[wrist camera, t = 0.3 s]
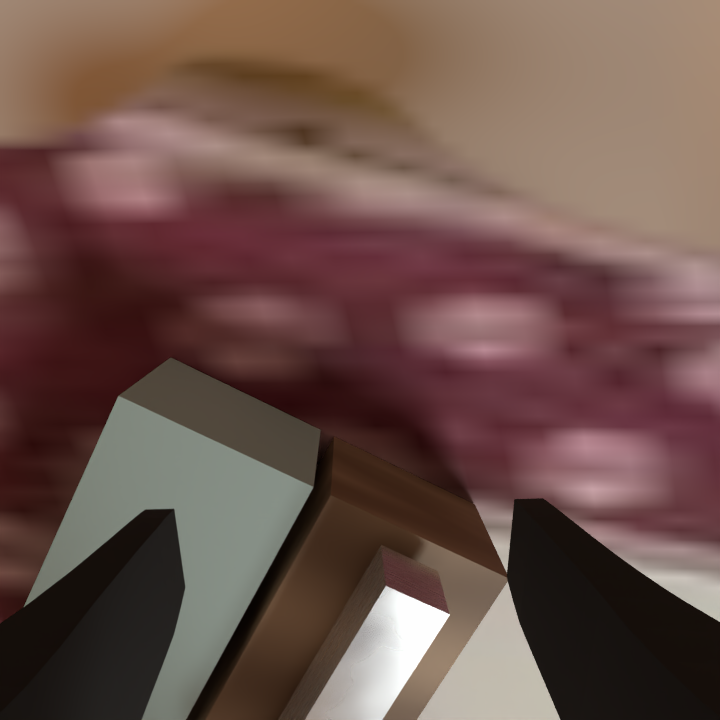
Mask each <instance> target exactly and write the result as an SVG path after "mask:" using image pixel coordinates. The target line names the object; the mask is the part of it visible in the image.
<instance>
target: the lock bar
mask: <svg viewBox="0 0 720 720" xmlns="http://www.w3.org/2000/svg"><path fill="white" fill-rule="evenodd" d="M449 615H450V614H449V610H448V607H447V603H446V599H445V596H444V592H443V588H442V584H441V581H440V577H439V573H438V571H437V570H434V569H432V568H430V567H428V566H426V565H424V564H421V563H419V562H417V561H415V560H413V559H411V558H408V557H406V556H404V555H402V554H400V553H398V552H395V551H393V550H391V549H389V548H387V547H385V546H382V545H381V546H380V548H379V550H378V551H377V553H376V555H375V556H374V558H373V560H372V561H371V563H370V565H369V567H368V568H367V570H366V572H365V573H364V575H363V577H362V578H361V580H360V582H359V583H358V585H357V587H356V589H355V590H354V592H353V594H352V595H351V597H350V599H349V600H348V602H347V604H346V605H345V607H344V609H343V611H342V612H341V614H340V616H339V617H338V619H337V621H336V622H335V624H334V626H333V627H332V629H331V631H330V632H329V634H328V636H327V638H326V639H325V641H324V643H323V644H322V646H321V648H320V649H319V651H318V653H317V654H316V656H315V658H314V660H313V661H312V663H311V665H310V666H309V668H308V670H307V671H306V673H305V675H304V676H303V678H302V680H301V681H300V683H299V685H298V687H297V688H296V690H295V692H294V693H293V695H292V697H291V698H290V700H289V702H288V703H287V705H286V707H285V709H284V710H283V712H282V714H281V715H280V717H279V719H278V720H382V719H383V718H384V716H385V715H386V713H387V712H388V710H389V709H390V707H391V705H392V704H393V702H394V701H395V699H396V698H397V696H398V695H399V693H400V691H401V690H402V688H403V687H404V685H405V684H406V682H407V680H408V679H409V677H410V676H411V674H412V673H413V671H414V670H415V668H416V666H417V665H418V663H419V662H420V660H421V659H422V657H423V655H424V654H425V652H426V651H427V649H428V648H429V646H430V645H431V643H432V641H433V640H434V638H435V637H436V635H437V634H438V632H439V631H440V629H441V627H442V626H443V624H444V623H445V621H446V620H447V618H448V616H449Z"/></svg>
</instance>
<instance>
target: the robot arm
mask: <svg viewBox="0 0 720 720" xmlns="http://www.w3.org/2000/svg"><path fill="white" fill-rule="evenodd" d="M507 580H508V584H509V587H510V591H511V595H512V598H513V602H514V605H515V609H516V612H517V615H518V619H519V622H520V625H521V627H522V630H523V632H524V635H525V637H526V639H527V642H528V644H529V647H530V649H531V651H532V654H533V656H534V659H535V661H536V663H537V666H538V668H539V670H540V673H541V675H542V677H543V680H544V682H545V684H546V687H547V689H548V691H549V694H550V696H551V698H552V701H553V703H554V705H555V708H556V710H557V713H558V715H559V717H560V720H720V622H719V621H717V620H715V619H714V618H712V617H710V616H709V615H707V614H705V613H703V612H702V611H700V610H698V609H697V608H695V607H693V606H692V605H690V604H688V603H686V602H685V601H683V600H682V599H680V598H678V597H677V596H675V595H674V594H672V593H670V592H669V591H667V590H666V589H664V588H663V587H661V586H660V585H658V584H657V583H655V582H654V581H652V580H651V579H650V578H648V577H647V576H645V575H644V574H642V573H641V572H639V571H638V570H636V569H635V568H634V567H632V566H631V565H629V564H628V563H627V562H625V561H624V560H622V559H621V558H620V557H618V556H617V555H616V554H614V553H613V552H612V551H610V550H609V549H608V548H606V547H605V546H604V545H602V544H601V543H600V542H598V541H597V540H596V539H595V538H593V537H592V536H591V535H589V534H588V533H587V532H586V531H584V530H583V529H582V528H581V527H579V526H578V525H577V524H576V523H574V522H573V521H572V520H570V519H569V518H568V517H567V516H565V515H564V514H563V513H562V512H560V511H559V510H558V509H556V508H555V507H554V506H553V505H551V504H550V503H549V502H547V501H546V500H544V499H515V500H514V510H513V520H512V530H511V540H510V550H509V560H508V570H507ZM184 592H185V580H184V573H183V566H182V559H181V552H180V545H179V538H178V531H177V524H176V517H175V510H174V509H145V510H144V511H142V512H141V513H140V514H139V515H137V516H136V517H135V518H134V519H132V520H131V521H130V522H129V523H128V524H126V525H125V526H124V527H123V528H122V529H121V530H119V531H118V532H117V533H116V534H115V535H114V536H112V537H111V538H110V539H109V540H108V541H107V542H105V543H104V544H103V545H102V546H101V547H99V548H98V549H97V550H96V551H95V552H93V553H92V554H91V555H90V556H89V557H87V558H86V559H85V560H84V561H83V562H81V563H80V564H79V565H78V566H77V567H75V568H74V569H73V570H72V571H70V572H69V573H68V574H67V575H65V576H64V577H63V578H61V579H60V580H59V581H57V582H56V583H55V584H53V585H52V586H51V587H50V588H48V589H47V590H46V591H44V592H43V593H42V594H40V595H39V596H38V597H36V598H35V599H34V600H33V601H31V602H30V603H29V604H27V605H26V606H25V607H23V608H22V609H20V610H19V611H18V612H16V613H15V614H13V615H12V616H10V617H9V618H8V619H6V620H5V621H3V622H2V623H0V720H142V718H143V715H144V712H145V710H146V707H147V705H148V702H149V699H150V697H151V694H152V692H153V689H154V686H155V684H156V681H157V679H158V676H159V673H160V671H161V668H162V665H163V663H164V660H165V657H166V655H167V652H168V649H169V647H170V644H171V641H172V639H173V636H174V633H175V629H176V625H177V621H178V617H179V613H180V609H181V605H182V600H183V596H184Z"/></svg>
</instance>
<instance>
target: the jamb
mask: <svg viewBox="0 0 720 720" xmlns="http://www.w3.org/2000/svg"><path fill="white" fill-rule="evenodd" d="M381 545H382V546H385V547H387V548H389V549H391V550H393V551H395V552H398V553H400V554H402V555H404V556H406V557H408V558H411V559H413V560H415V561H417V562H419V563H421V564H424V565H426V566H428V567H430V568H432V569H434V570H437V571H438V573H439V577H440V581H441V584H442V588H443V592H444V596H445V599H446V603H447V607H448V610H449V614H450V615H449V616H448V618H447V620H446V621H445V623H444V624H443V626H442V627H441V629H440V631H439V632H438V634H437V635H436V637H435V638H434V640H433V641H432V643H431V645H430V646H429V648H428V649H427V651H426V652H425V654H424V655H423V657H422V659H421V660H420V662H419V663H418V665H417V666H416V668H415V670H414V671H413V673H412V674H411V676H410V677H409V679H408V680H407V682H406V684H405V685H404V687H403V688H402V690H401V691H400V693H399V695H398V696H397V698H396V699H395V701H394V702H393V704H392V705H391V707H390V709H389V710H388V712H387V713H386V715H385V716H384V718H383V719H382V720H417V718H418V717H419V715H420V714H421V712H422V711H423V709H424V708H425V706H426V705H427V703H428V702H429V700H430V699H431V697H432V696H433V694H434V692H435V691H436V689H437V688H438V686H439V685H440V683H441V682H442V680H443V679H444V677H445V676H446V674H447V673H448V671H449V670H450V668H451V667H452V665H453V664H454V662H455V660H456V659H457V657H458V656H459V654H460V653H461V651H462V650H463V648H464V647H465V645H466V644H467V642H468V641H469V639H470V638H471V636H472V635H473V633H474V632H475V630H476V629H477V627H478V625H479V624H480V622H481V621H482V619H483V618H484V616H485V615H486V613H487V612H488V610H489V609H490V607H491V606H492V604H493V603H494V601H495V600H496V598H497V597H498V595H499V593H500V592H501V590H502V589H503V587H504V586H505V584H506V583H507V581H508V580H507V573H506V571H505V569H504V566H503V564H502V562H501V560H500V558H499V556H498V554H497V551H496V549H495V547H494V545H493V543H492V541H491V539H490V536H489V534H488V532H487V530H486V528H485V526H484V524H483V521H482V519H481V517H480V515H479V513H478V511H477V508H476V506H475V504H473V503H471V502H469V501H467V500H464V499H462V498H460V497H458V496H456V495H454V494H452V493H450V492H448V491H446V490H444V489H442V488H440V487H438V486H436V485H433V484H431V483H429V482H427V481H425V480H423V479H421V478H419V477H417V476H415V475H413V474H411V473H409V472H407V471H405V470H402V469H400V468H398V467H396V466H394V465H392V464H390V463H388V462H386V461H384V460H382V459H380V458H378V457H376V456H374V455H371V454H369V453H367V452H365V451H363V450H361V449H359V448H357V447H355V446H353V445H351V444H349V443H347V442H345V441H342V440H340V439H338V438H336V437H334V438H333V440H332V441H331V443H330V445H329V447H328V449H327V451H326V452H325V454H324V456H323V458H322V460H321V462H320V463H319V465H318V467H317V469H316V472H315V480H314V487H313V489H312V491H311V493H310V495H309V496H308V498H307V500H306V502H305V504H304V505H303V507H302V509H301V511H300V513H299V515H298V516H297V518H296V520H295V522H294V524H293V526H292V527H291V529H290V531H289V533H288V535H287V536H286V538H285V540H284V542H283V544H282V546H281V547H280V549H279V551H278V553H277V555H276V557H275V558H274V560H273V562H272V564H271V566H270V567H269V569H268V571H267V573H266V575H265V577H264V578H263V580H262V582H261V584H260V586H259V587H258V589H257V591H256V593H255V595H254V597H253V598H252V600H251V602H250V604H249V606H248V608H247V609H246V611H245V613H244V615H243V617H242V618H241V620H240V622H239V624H238V626H237V628H236V629H235V631H234V633H233V635H232V637H231V639H230V640H229V642H228V644H227V646H226V648H225V649H224V651H223V653H222V655H221V657H220V659H219V660H218V662H217V664H216V666H215V668H214V670H213V671H212V673H211V675H210V677H209V679H208V680H207V682H206V684H205V686H204V688H203V690H202V691H201V693H200V695H199V697H198V699H197V701H196V702H195V704H194V706H193V708H192V710H191V711H190V713H189V715H188V717H187V719H186V720H278V719H279V717H280V715H281V714H282V712H283V710H284V709H285V707H286V705H287V703H288V702H289V700H290V698H291V697H292V695H293V693H294V692H295V690H296V688H297V687H298V685H299V683H300V681H301V680H302V678H303V676H304V675H305V673H306V671H307V670H308V668H309V666H310V665H311V663H312V661H313V660H314V658H315V656H316V654H317V653H318V651H319V649H320V648H321V646H322V644H323V643H324V641H325V639H326V638H327V636H328V634H329V632H330V631H331V629H332V627H333V626H334V624H335V622H336V621H337V619H338V617H339V616H340V614H341V612H342V611H343V609H344V607H345V605H346V604H347V602H348V600H349V599H350V597H351V595H352V594H353V592H354V590H355V589H356V587H357V585H358V583H359V582H360V580H361V578H362V577H363V575H364V573H365V572H366V570H367V568H368V567H369V565H370V563H371V561H372V560H373V558H374V556H375V555H376V553H377V551H378V550H379V548H380V546H381Z"/></svg>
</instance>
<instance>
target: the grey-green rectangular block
mask: <svg viewBox="0 0 720 720" xmlns="http://www.w3.org/2000/svg"><path fill="white" fill-rule="evenodd" d="M320 432H321V430H320V429H318V428H316V427H314V426H311V425H309V424H307V423H305V422H303V421H301V420H299V419H297V418H295V417H293V416H291V415H289V414H287V413H285V412H283V411H280V410H278V409H276V408H274V407H272V406H270V405H268V404H266V403H264V402H262V401H260V400H258V399H256V398H254V397H252V396H249V395H247V394H245V393H243V392H241V391H239V390H237V389H235V388H233V387H231V386H229V385H227V384H225V383H223V382H221V381H218V380H216V379H214V378H212V377H210V376H208V375H206V374H204V373H202V372H200V371H198V370H196V369H194V368H192V367H190V366H187V365H185V364H183V363H181V362H179V361H177V360H175V359H173V358H169V359H168V360H166V361H165V362H164V363H162V364H161V365H160V366H158V367H157V368H156V369H154V370H153V371H152V372H150V373H149V374H147V375H146V376H145V377H143V378H142V379H141V380H139V381H138V382H137V383H135V384H134V385H132V386H131V387H130V388H128V389H127V390H126V391H124V392H123V393H122V394H120V395H119V396H118V398H117V400H116V402H115V405H114V407H113V409H112V411H111V414H110V416H109V418H108V420H107V423H106V425H105V427H104V429H103V431H102V434H101V436H100V438H99V440H98V443H97V445H96V447H95V449H94V451H93V454H92V456H91V458H90V460H89V463H88V465H87V467H86V469H85V472H84V474H83V476H82V478H81V480H80V483H79V485H78V487H77V489H76V492H75V494H74V496H73V498H72V500H71V503H70V505H69V507H68V509H67V512H66V514H65V516H64V518H63V521H62V523H61V525H60V527H59V529H58V532H57V534H56V536H55V538H54V541H53V543H52V545H51V547H50V549H49V552H48V554H47V556H46V558H45V561H44V563H43V565H42V567H41V570H40V572H39V574H38V576H37V578H36V581H35V583H34V585H33V587H32V590H31V592H30V594H29V596H28V598H27V601H26V603H25V605H24V607H25V606H26V605H27V604H29V603H30V602H31V601H33V600H34V599H35V598H36V597H38V596H39V595H40V594H42V593H43V592H44V591H46V590H47V589H48V588H50V587H51V586H52V585H53V584H55V583H56V582H57V581H59V580H60V579H61V578H63V577H64V576H65V575H67V574H68V573H69V572H70V571H72V570H73V569H74V568H75V567H77V566H78V565H79V564H80V563H81V562H83V561H84V560H85V559H86V558H87V557H89V556H90V555H91V554H92V553H93V552H95V551H96V550H97V549H98V548H99V547H101V546H102V545H103V544H104V543H105V542H107V541H108V540H109V539H110V538H111V537H112V536H114V535H115V534H116V533H117V532H118V531H119V530H121V529H122V528H123V527H124V526H125V525H126V524H128V523H129V522H130V521H131V520H132V519H134V518H135V517H136V516H137V515H139V514H140V513H141V512H142V511H144V510H145V509H174V510H175V517H176V524H177V531H178V538H179V545H180V552H181V559H182V566H183V573H184V580H185V592H184V596H183V600H182V605H181V609H180V613H179V617H178V621H177V625H176V629H175V633H174V636H173V639H172V641H171V644H170V647H169V649H168V652H167V655H166V657H165V660H164V663H163V665H162V668H161V671H160V673H159V676H158V679H157V681H156V684H155V686H154V689H153V692H152V694H151V697H150V699H149V702H148V705H147V707H146V710H145V712H144V715H143V718H142V720H186V719H187V717H188V715H189V713H190V711H191V710H192V708H193V706H194V704H195V702H196V701H197V699H198V697H199V695H200V693H201V691H202V690H203V688H204V686H205V684H206V682H207V680H208V679H209V677H210V675H211V673H212V671H213V670H214V668H215V666H216V664H217V662H218V660H219V659H220V657H221V655H222V653H223V651H224V649H225V648H226V646H227V644H228V642H229V640H230V639H231V637H232V635H233V633H234V631H235V629H236V628H237V626H238V624H239V622H240V620H241V618H242V617H243V615H244V613H245V611H246V609H247V608H248V606H249V604H250V602H251V600H252V598H253V597H254V595H255V593H256V591H257V589H258V587H259V586H260V584H261V582H262V580H263V578H264V577H265V575H266V573H267V571H268V569H269V567H270V566H271V564H272V562H273V560H274V558H275V557H276V555H277V553H278V551H279V549H280V547H281V546H282V544H283V542H284V540H285V538H286V536H287V535H288V533H289V531H290V529H291V527H292V526H293V524H294V522H295V520H296V518H297V516H298V515H299V513H300V511H301V509H302V507H303V505H304V504H305V502H306V500H307V498H308V496H309V495H310V493H311V491H312V489H313V487H314V480H315V472H316V464H317V456H318V448H319V440H320Z"/></svg>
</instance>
